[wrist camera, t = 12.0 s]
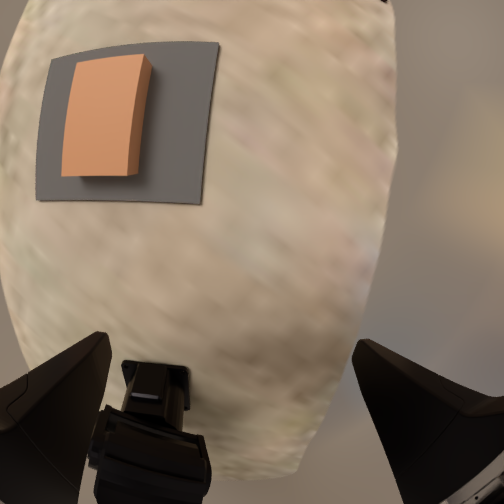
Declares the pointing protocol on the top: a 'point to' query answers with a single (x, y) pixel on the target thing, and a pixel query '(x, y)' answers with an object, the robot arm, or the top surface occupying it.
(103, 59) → the tile
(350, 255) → the top surface
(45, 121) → the mat
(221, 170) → the top surface
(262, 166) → the top surface
